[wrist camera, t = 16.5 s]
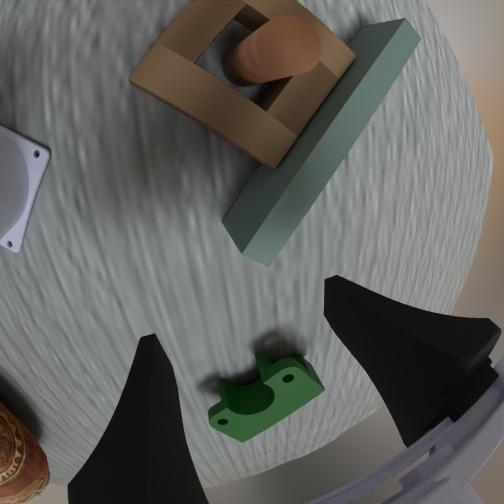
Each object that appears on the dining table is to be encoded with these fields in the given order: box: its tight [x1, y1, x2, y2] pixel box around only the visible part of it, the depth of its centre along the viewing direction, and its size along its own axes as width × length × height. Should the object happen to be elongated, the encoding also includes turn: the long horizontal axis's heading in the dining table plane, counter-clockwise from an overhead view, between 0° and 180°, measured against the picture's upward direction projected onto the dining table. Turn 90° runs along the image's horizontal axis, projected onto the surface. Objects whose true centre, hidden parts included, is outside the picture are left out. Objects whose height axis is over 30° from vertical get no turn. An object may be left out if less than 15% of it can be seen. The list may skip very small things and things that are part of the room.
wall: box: [222, 18, 421, 267], centre depth 16 cm, size 2×20×5 cm, turn 144°
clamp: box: [208, 352, 325, 443], centre depth 27 cm, size 12×6×9 cm, turn 122°
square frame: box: [128, 0, 356, 169], centre depth 14 cm, size 10×10×3 cm
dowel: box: [223, 16, 322, 87], centre depth 12 cm, size 3×3×7 cm
